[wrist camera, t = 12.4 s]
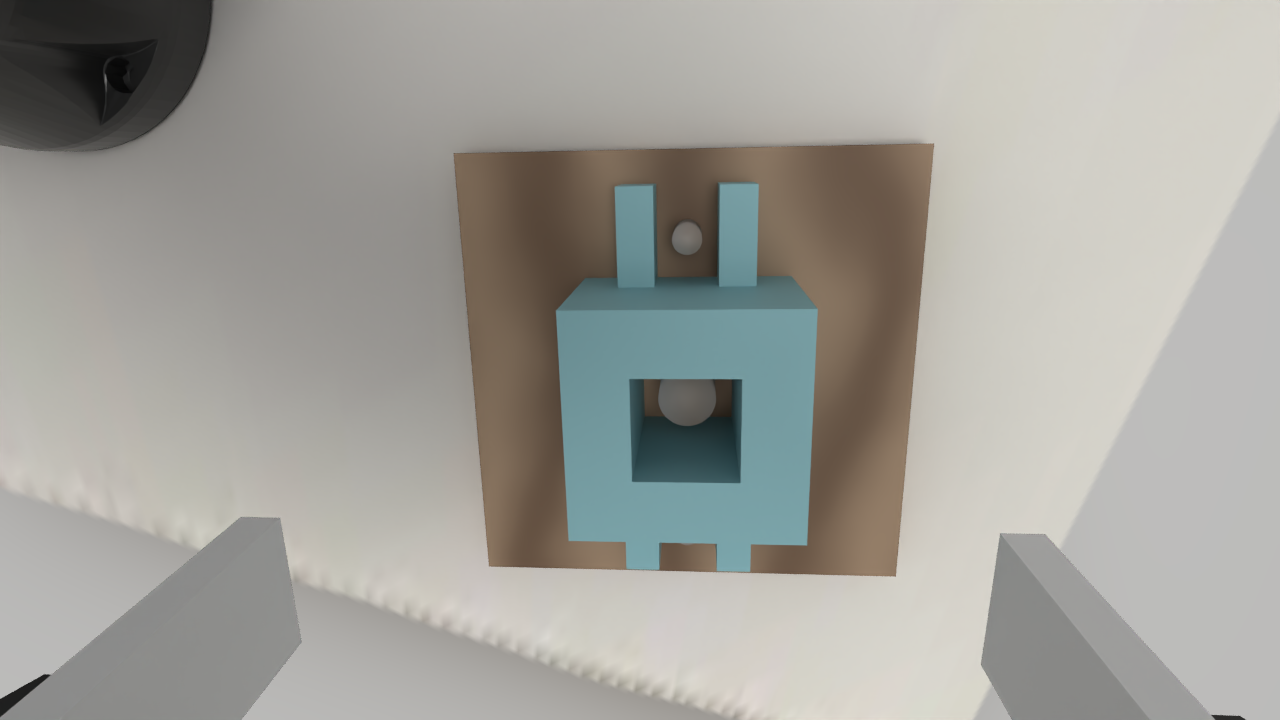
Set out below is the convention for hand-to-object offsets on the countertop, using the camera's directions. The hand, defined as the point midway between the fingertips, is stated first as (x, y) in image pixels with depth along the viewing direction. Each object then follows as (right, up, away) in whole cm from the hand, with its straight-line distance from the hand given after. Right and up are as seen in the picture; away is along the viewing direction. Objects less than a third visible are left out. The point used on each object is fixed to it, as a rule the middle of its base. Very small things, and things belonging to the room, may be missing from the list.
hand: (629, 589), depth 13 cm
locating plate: (+2, +4, +21) cm, 21 cm away
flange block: (+2, +4, +19) cm, 20 cm away
